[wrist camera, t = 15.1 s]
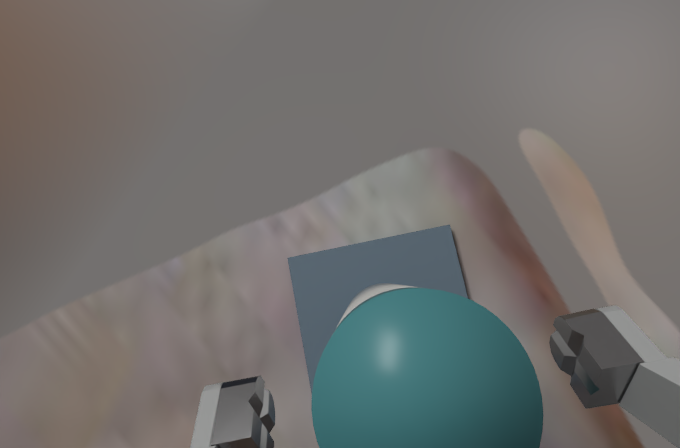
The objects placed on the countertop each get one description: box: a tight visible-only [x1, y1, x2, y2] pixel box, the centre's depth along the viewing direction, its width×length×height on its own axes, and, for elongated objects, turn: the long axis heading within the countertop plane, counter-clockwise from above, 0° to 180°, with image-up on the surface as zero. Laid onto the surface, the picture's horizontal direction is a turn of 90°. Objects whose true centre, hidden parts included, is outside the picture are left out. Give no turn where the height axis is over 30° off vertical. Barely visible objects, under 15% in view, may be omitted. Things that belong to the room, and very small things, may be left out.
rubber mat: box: [288, 225, 468, 392], centre depth 22 cm, size 10×10×1 cm
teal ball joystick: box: [312, 283, 543, 448], centre depth 15 cm, size 5×5×14 cm
